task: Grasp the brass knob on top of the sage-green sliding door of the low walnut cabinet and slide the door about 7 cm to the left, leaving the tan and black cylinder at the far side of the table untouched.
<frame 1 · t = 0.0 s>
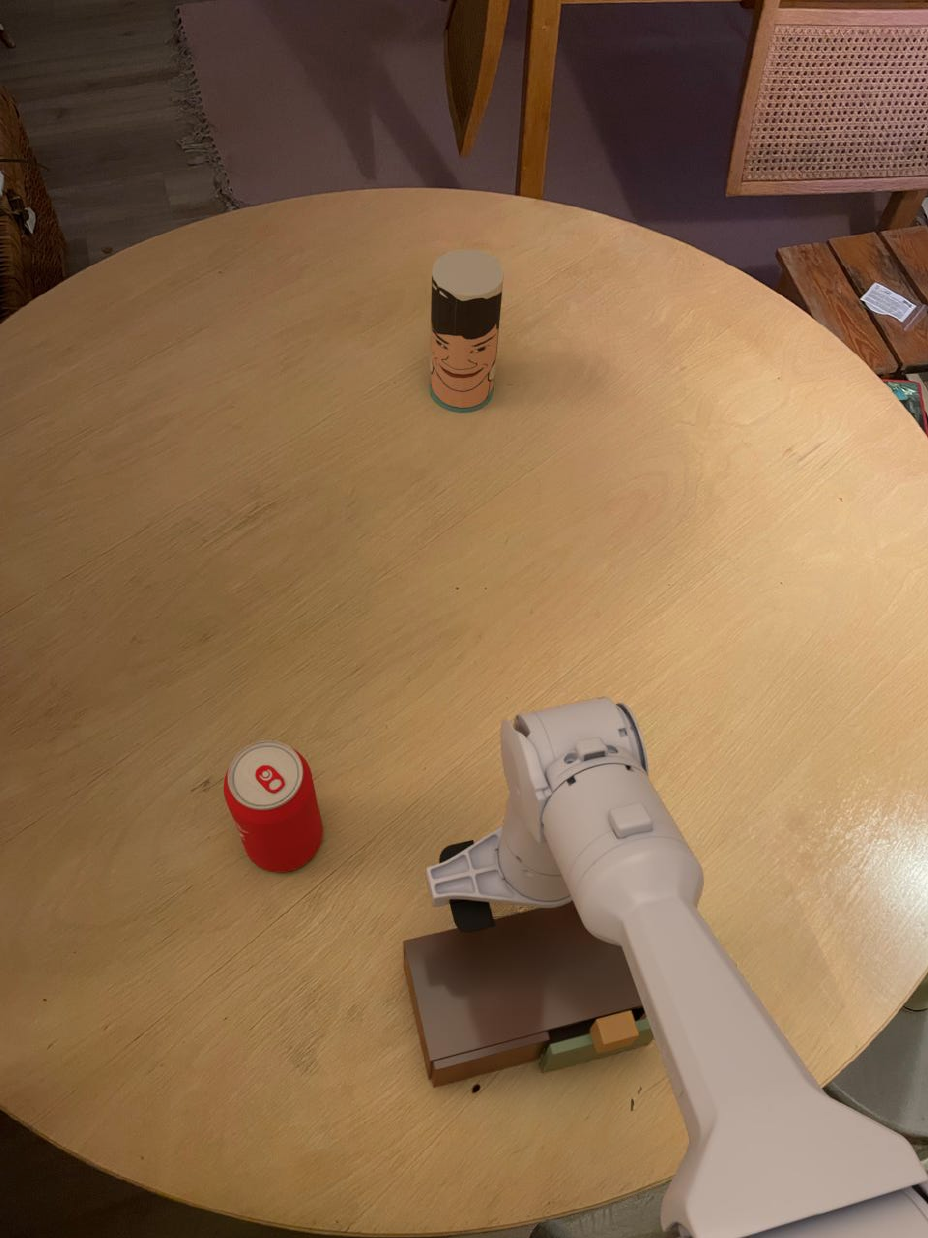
hand: (530, 903, 71), 8 cm above the table, tool pointing down, fingers open, 7 cm apart
beverage can: (283, 838, 82), on the table
door: (605, 1043, 69), point 5 cm above the table, slide at 0.0 cm
cabinet: (522, 994, 76), on the table
tan and black cylinder: (461, 390, 110), on the table
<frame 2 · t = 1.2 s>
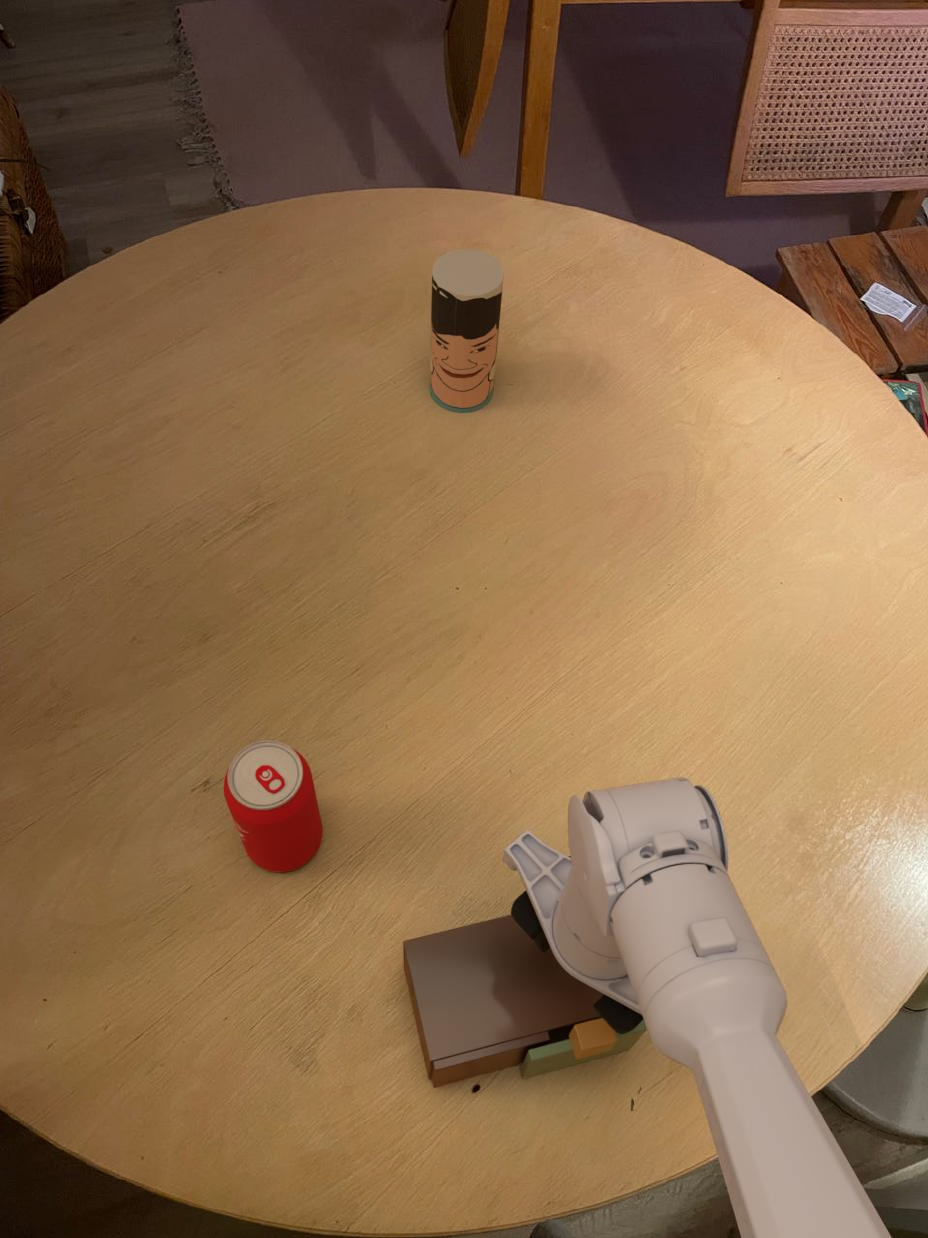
hand: (579, 970, 68), 9 cm above the table, tool pointing down, fingers open, 5 cm apart
door: (585, 1048, 69), point 5 cm above the table, slide at 1.5 cm, touching gripper
everything else where it was.
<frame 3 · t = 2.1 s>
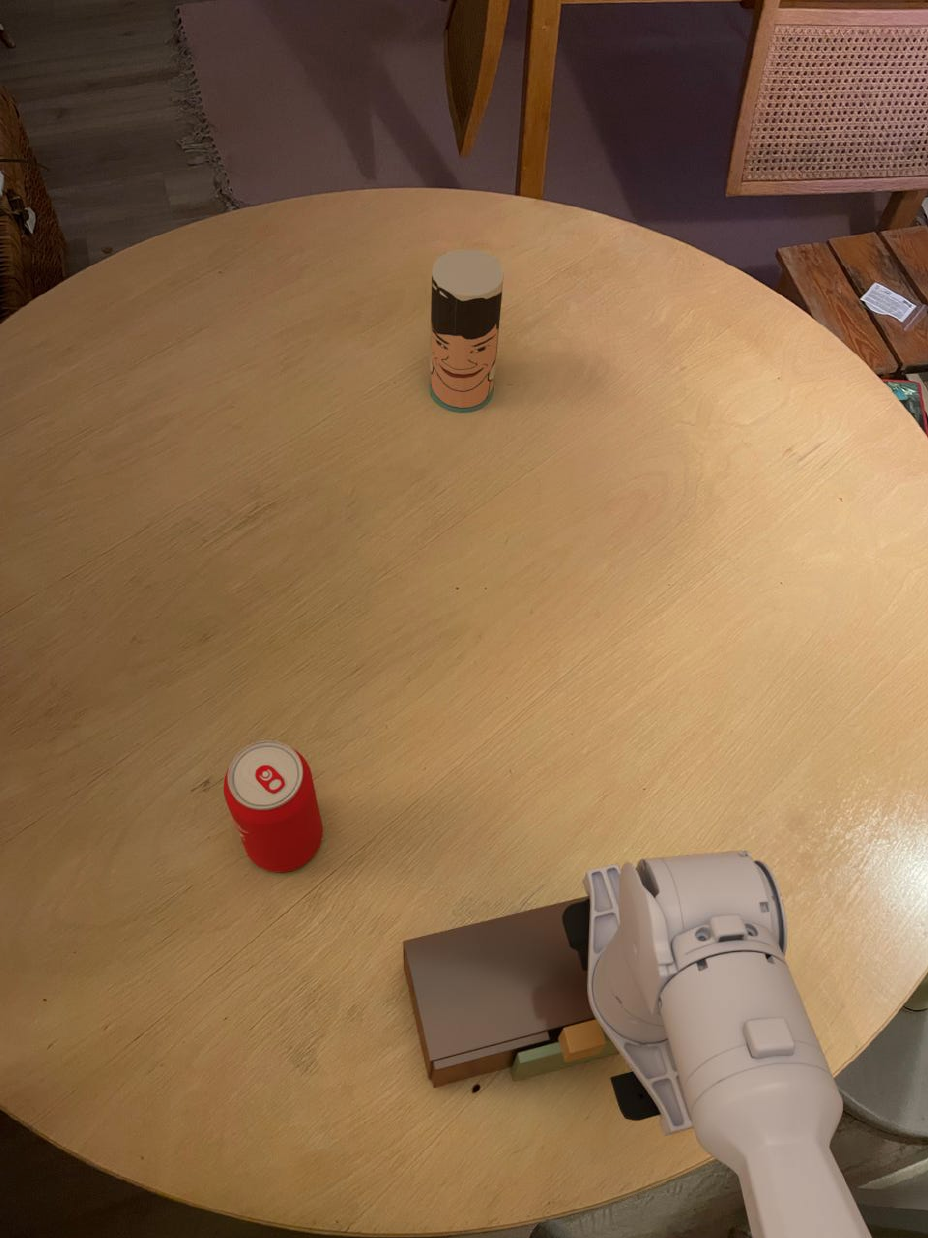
hand: (615, 1022, 66), 10 cm above the table, tool pointing down, fingers open, 7 cm apart
door: (574, 1051, 69), point 5 cm above the table, slide at 2.2 cm
everything else where it was.
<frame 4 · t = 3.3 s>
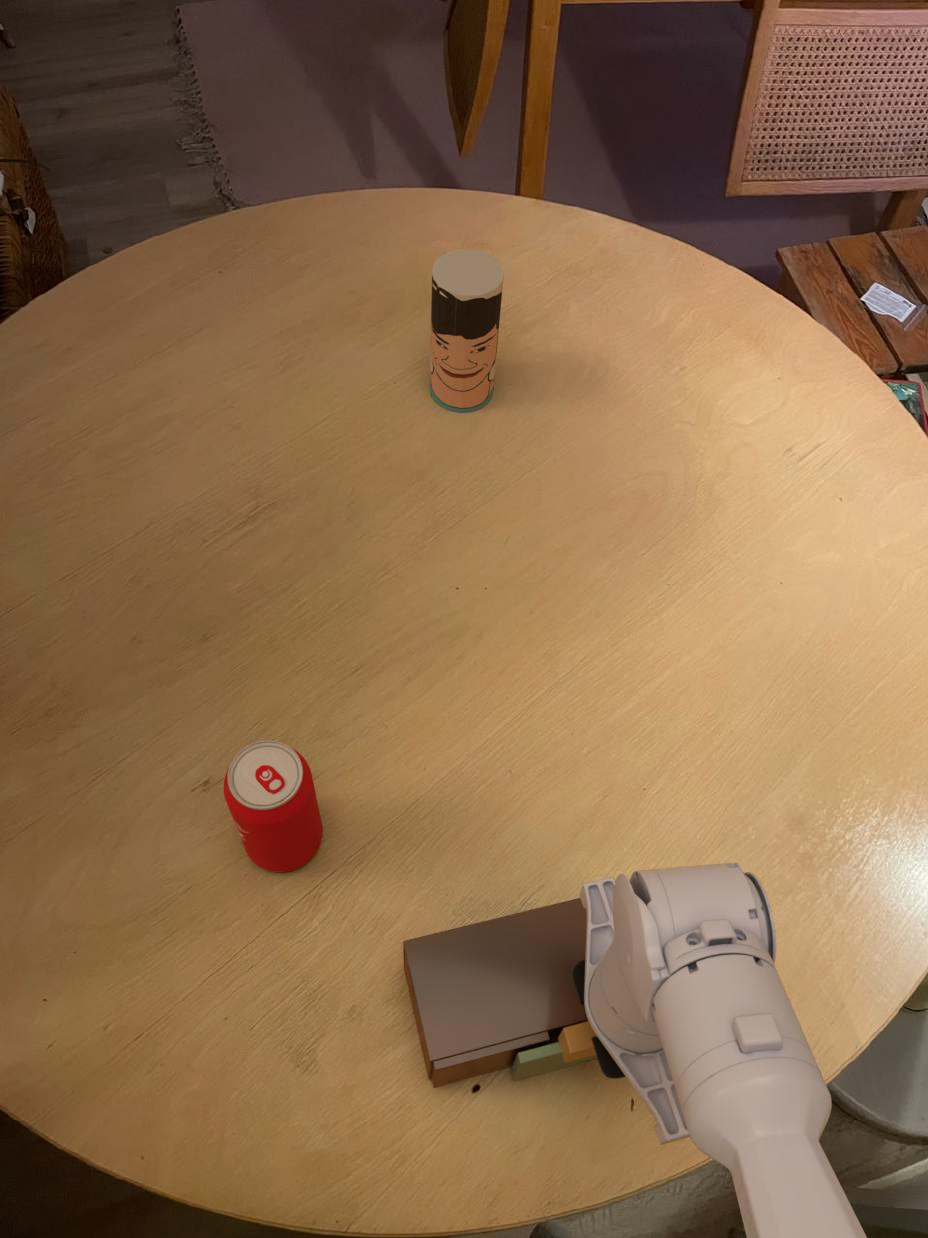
hand: (612, 1034, 67), 8 cm above the table, tool pointing down, fingers closed on door, 2 cm apart
door: (574, 1051, 69), point 5 cm above the table, slide at 2.2 cm, touching gripper
everything else where it was.
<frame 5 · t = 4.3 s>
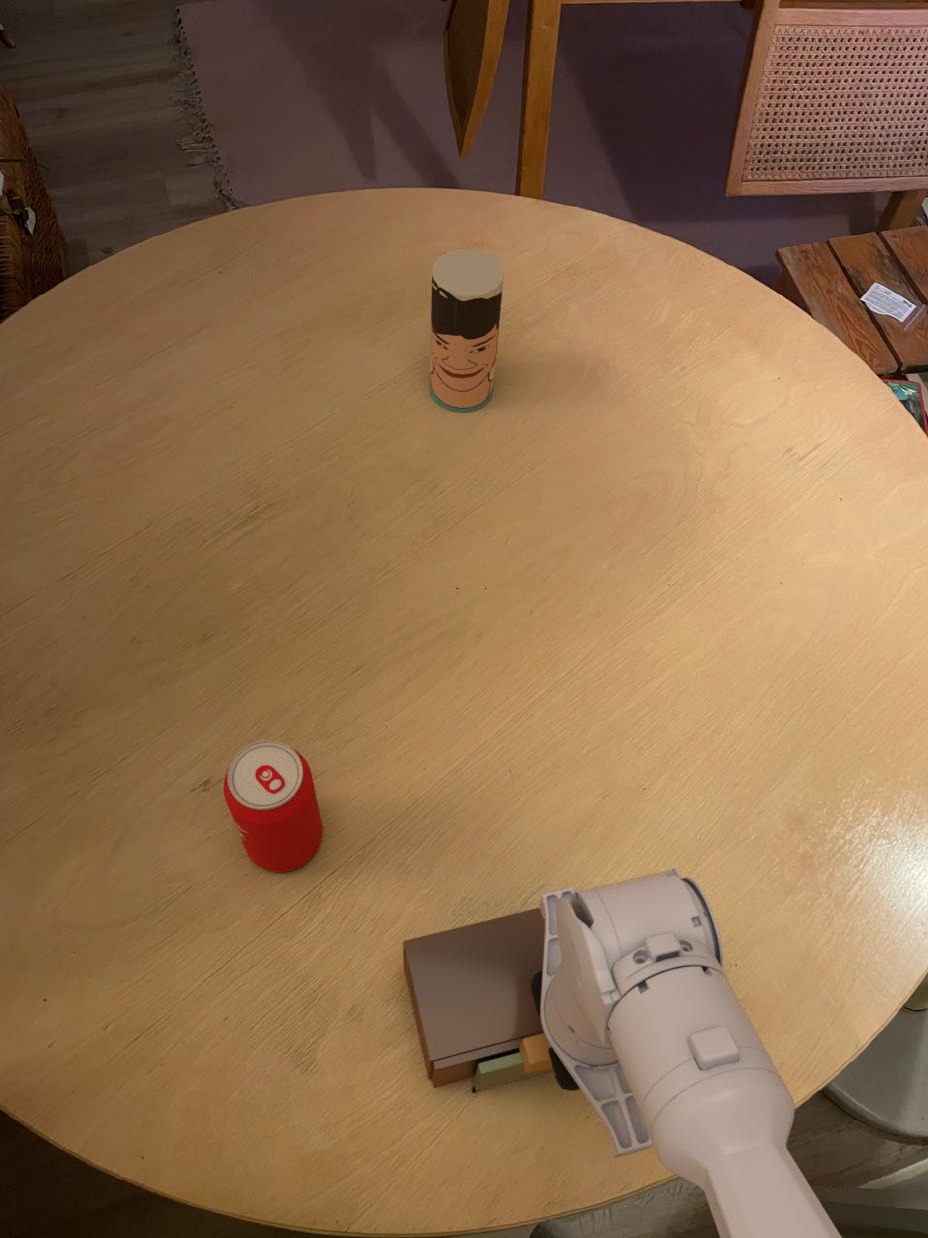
hand: (573, 1044, 67), 8 cm above the table, tool pointing down, fingers closed on door, 2 cm apart
door: (537, 1061, 69), point 5 cm above the table, slide at 4.8 cm, touching gripper
everything else where it was.
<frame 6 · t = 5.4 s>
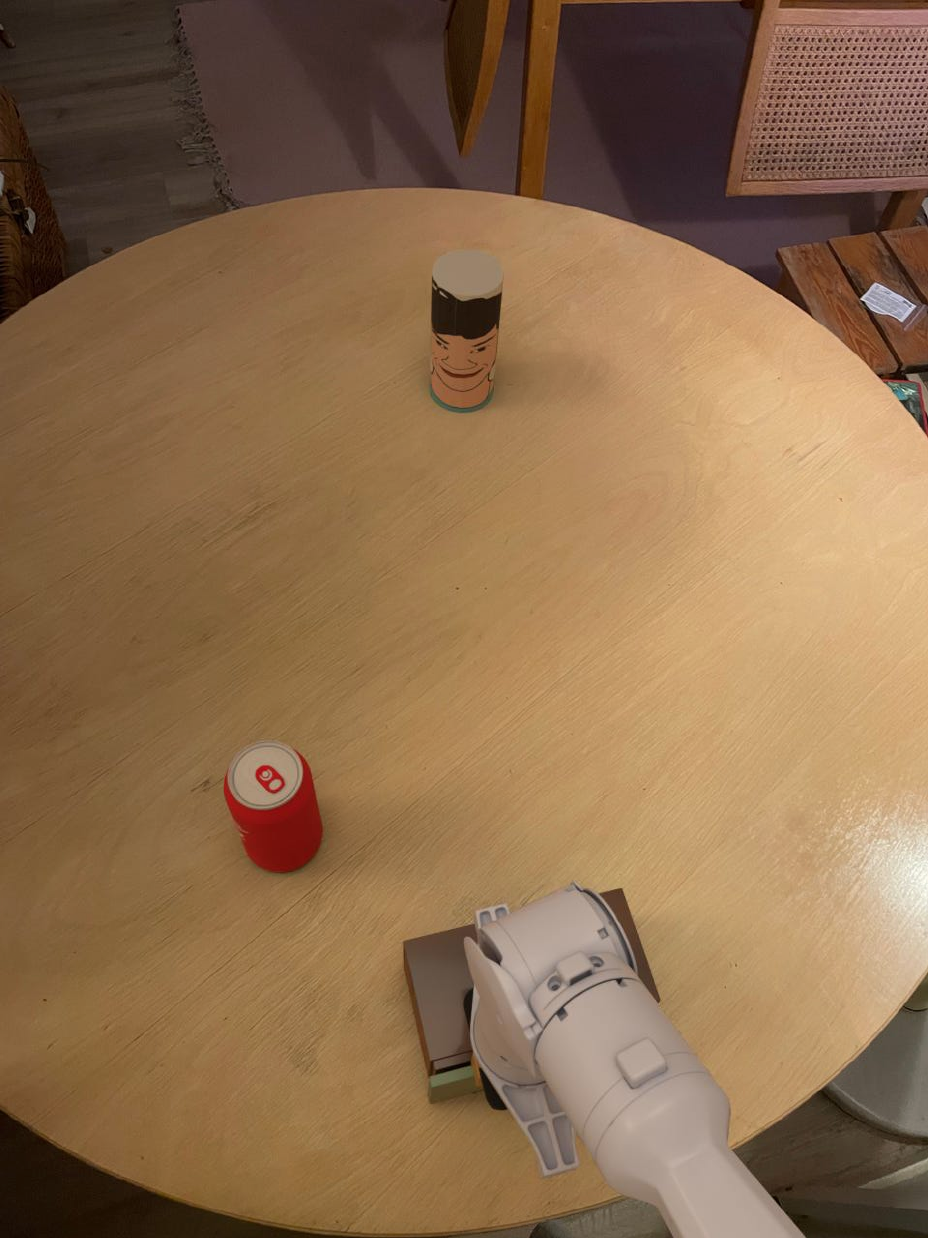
hand: (511, 1061, 66), 8 cm above the table, tool pointing down, fingers closed on door, 2 cm apart
door: (489, 1074, 68), point 5 cm above the table, slide at 8.1 cm, touching gripper
everything else where it was.
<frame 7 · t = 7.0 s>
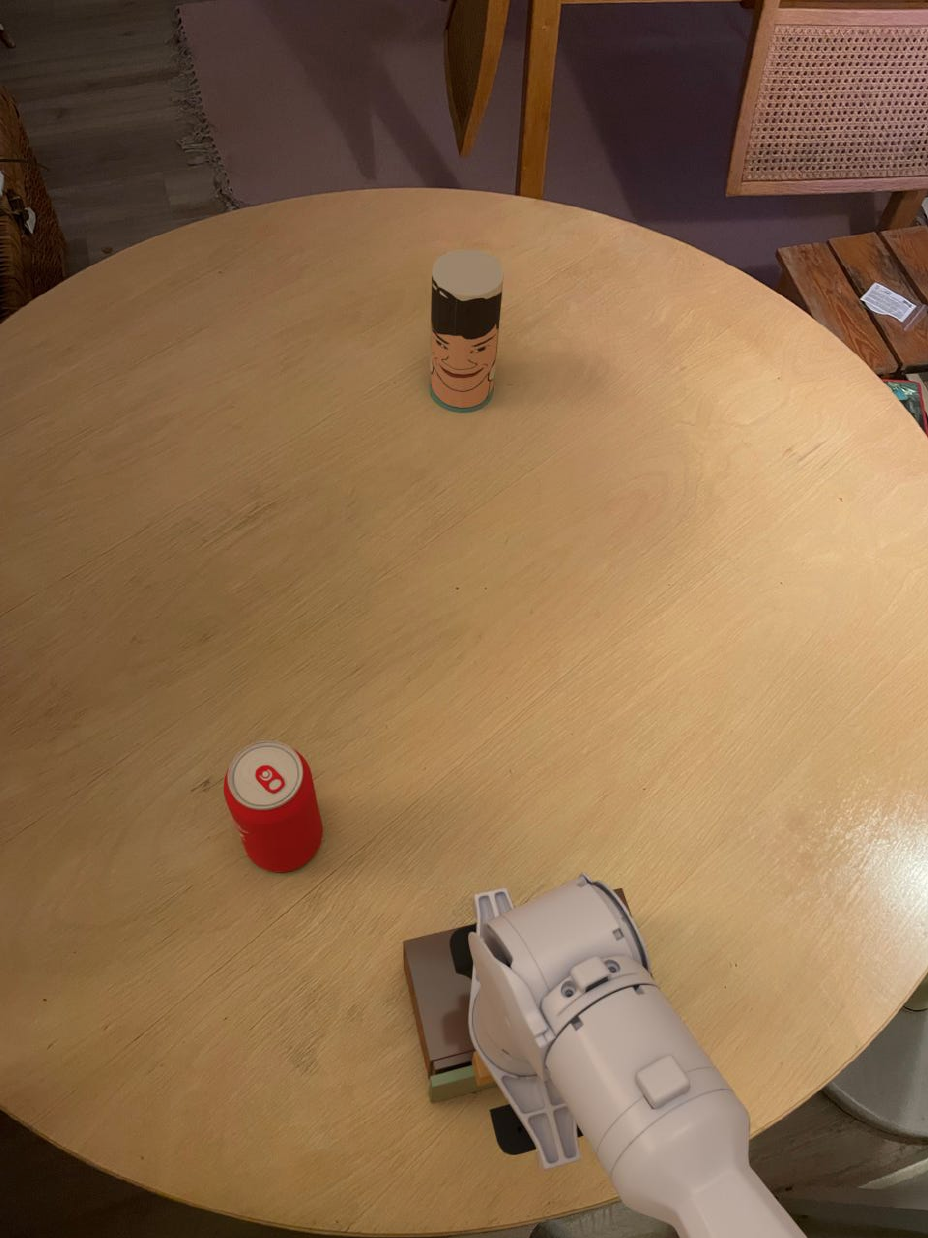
hand: (508, 1046, 64), 10 cm above the table, tool pointing down, fingers open, 7 cm apart
door: (490, 1074, 68), point 5 cm above the table, slide at 8.0 cm
everything else where it was.
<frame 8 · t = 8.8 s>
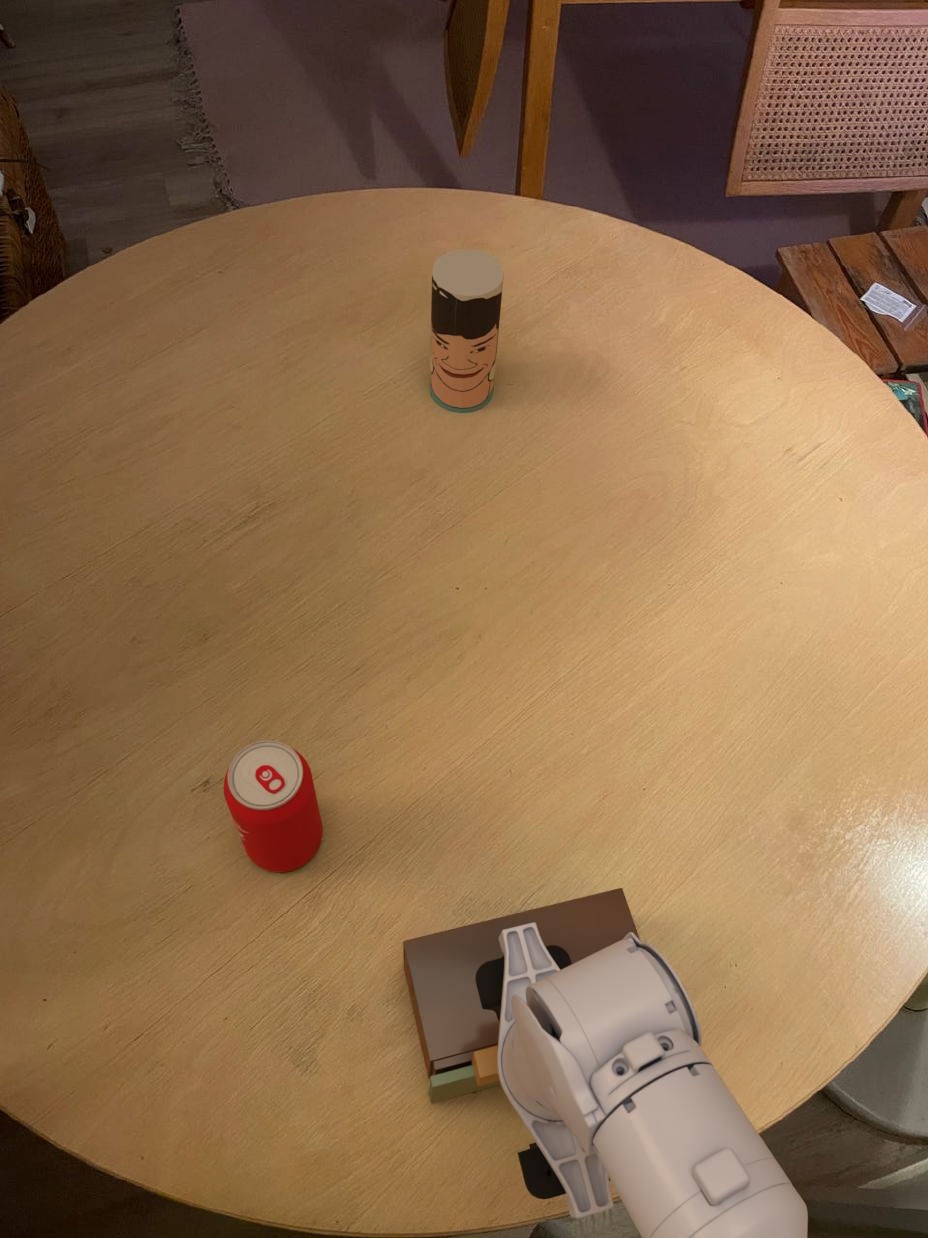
hand: (531, 1076, 63), 10 cm above the table, tool pointing down, fingers open, 7 cm apart
nothing on the table moved.
at the end: door slide at 8.0 cm; the gripper is holding nothing; tan and black cylinder moved 0.2 cm from its start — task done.
